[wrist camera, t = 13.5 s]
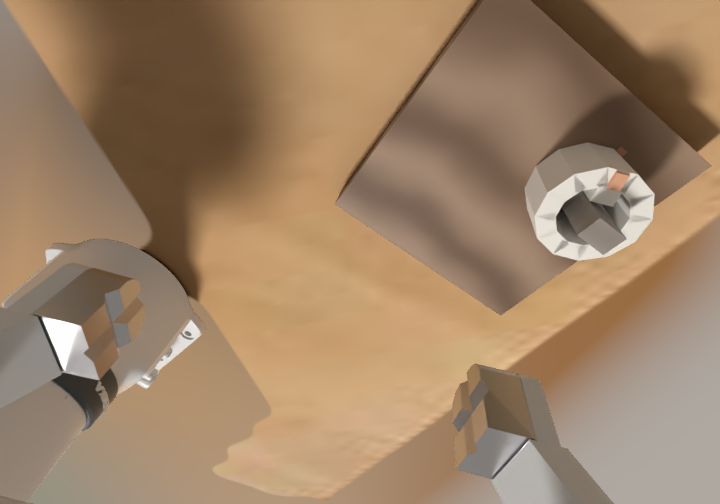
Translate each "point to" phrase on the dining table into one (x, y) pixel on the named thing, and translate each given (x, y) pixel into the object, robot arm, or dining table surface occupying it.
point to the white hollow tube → (600, 184)
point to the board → (505, 153)
